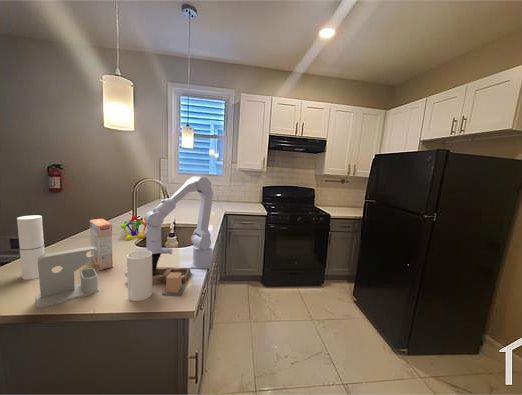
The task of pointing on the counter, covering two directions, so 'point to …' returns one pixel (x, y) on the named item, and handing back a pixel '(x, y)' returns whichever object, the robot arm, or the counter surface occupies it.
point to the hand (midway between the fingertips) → (154, 269)
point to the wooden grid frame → (166, 271)
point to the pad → (173, 292)
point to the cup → (139, 275)
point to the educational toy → (133, 234)
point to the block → (173, 282)
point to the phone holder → (65, 276)
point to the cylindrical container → (30, 244)
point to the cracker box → (101, 243)
